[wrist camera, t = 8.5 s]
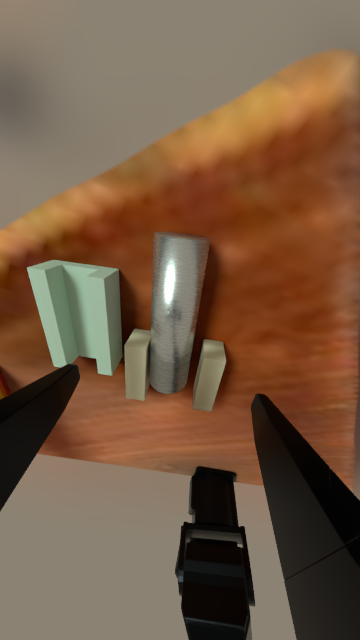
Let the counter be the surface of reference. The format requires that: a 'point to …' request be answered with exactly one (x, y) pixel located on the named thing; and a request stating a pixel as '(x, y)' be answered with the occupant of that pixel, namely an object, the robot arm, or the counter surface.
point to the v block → (79, 312)
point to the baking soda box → (3, 388)
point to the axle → (175, 306)
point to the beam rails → (206, 373)
